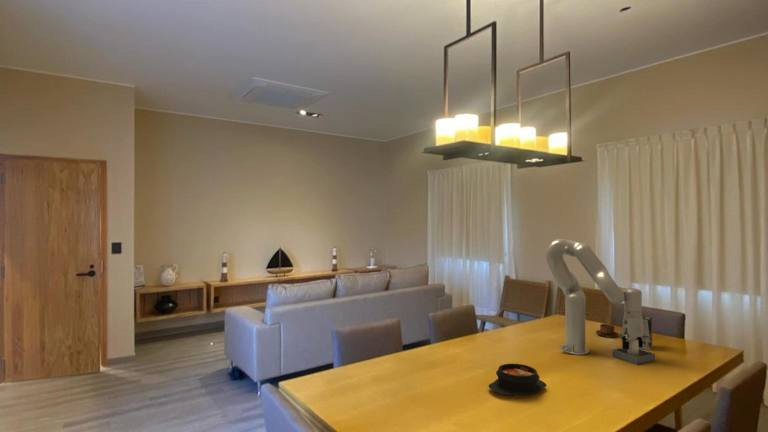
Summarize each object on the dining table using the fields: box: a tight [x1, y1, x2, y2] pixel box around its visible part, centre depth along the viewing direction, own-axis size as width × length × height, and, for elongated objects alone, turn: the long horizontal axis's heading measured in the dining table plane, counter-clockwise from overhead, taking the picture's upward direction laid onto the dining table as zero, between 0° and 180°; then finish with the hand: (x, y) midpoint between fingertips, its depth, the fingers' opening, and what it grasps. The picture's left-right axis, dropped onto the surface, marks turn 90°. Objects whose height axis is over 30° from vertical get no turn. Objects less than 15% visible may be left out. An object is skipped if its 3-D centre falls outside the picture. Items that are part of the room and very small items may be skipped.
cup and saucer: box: [595, 323, 620, 338], centre depth 250 cm, size 12×12×6 cm
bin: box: [611, 347, 656, 366], centre depth 208 cm, size 13×13×4 cm
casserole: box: [488, 363, 547, 397], centre depth 171 cm, size 25×19×8 cm
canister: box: [627, 338, 639, 357], centre depth 208 cm, size 5×5×9 cm
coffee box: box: [639, 315, 653, 351], centre depth 227 cm, size 9×6×16 cm
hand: (632, 347), depth 209 cm, fingers open, 9 cm apart
